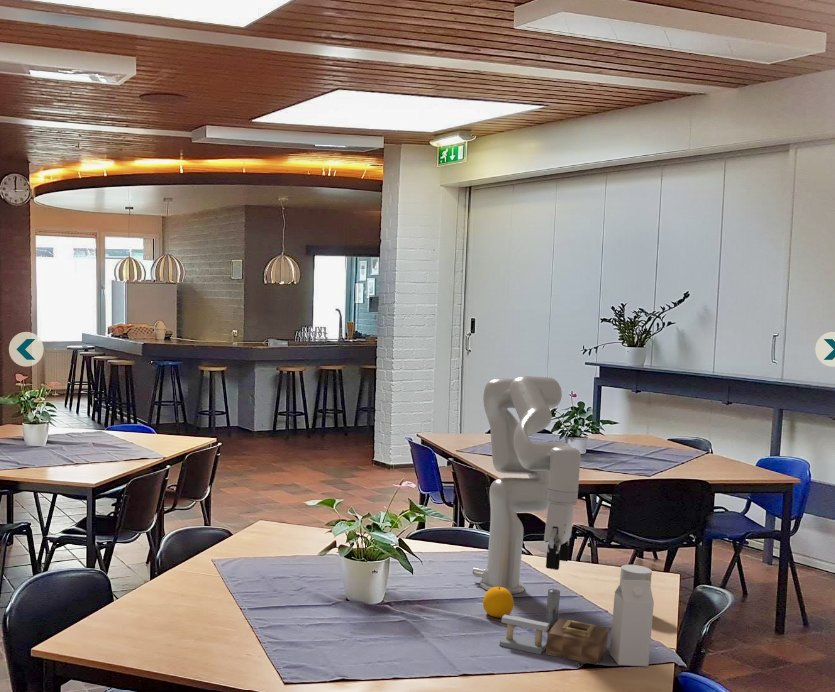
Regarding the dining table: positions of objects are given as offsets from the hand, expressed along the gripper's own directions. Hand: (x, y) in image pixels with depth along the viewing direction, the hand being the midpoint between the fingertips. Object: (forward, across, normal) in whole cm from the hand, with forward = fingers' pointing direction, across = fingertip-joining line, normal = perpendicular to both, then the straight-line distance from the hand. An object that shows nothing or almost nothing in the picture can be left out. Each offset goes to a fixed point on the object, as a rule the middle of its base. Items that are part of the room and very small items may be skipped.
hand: (557, 564), depth 236 cm
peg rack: (+17, +14, -3) cm, 23 cm away
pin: (+17, 0, 0) cm, 17 cm away
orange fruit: (+17, -4, -15) cm, 23 cm away
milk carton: (+17, +10, +21) cm, 29 cm away
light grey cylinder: (+17, -28, +16) cm, 36 cm away
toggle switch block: (+17, +10, +9) cm, 22 cm away
